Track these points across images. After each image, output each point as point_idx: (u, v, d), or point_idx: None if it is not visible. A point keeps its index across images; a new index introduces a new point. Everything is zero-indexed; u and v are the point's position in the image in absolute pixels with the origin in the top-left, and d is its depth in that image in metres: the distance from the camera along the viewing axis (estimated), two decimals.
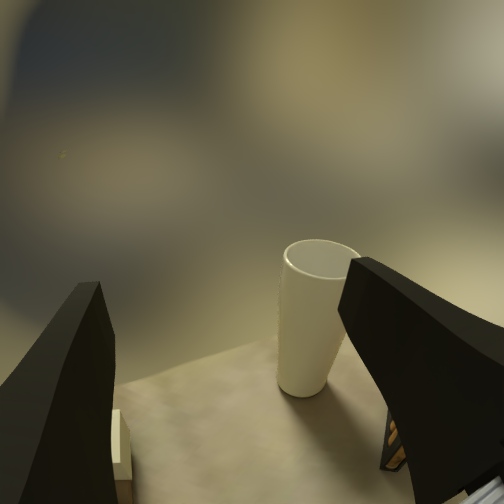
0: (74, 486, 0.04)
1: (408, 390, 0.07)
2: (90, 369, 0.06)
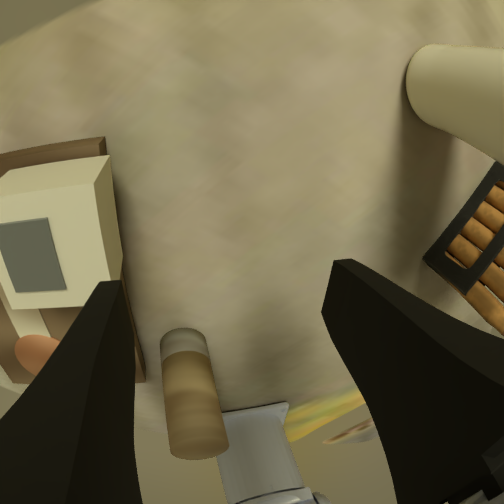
0: (107, 488, 0.04)
1: (390, 397, 0.07)
2: (115, 368, 0.06)
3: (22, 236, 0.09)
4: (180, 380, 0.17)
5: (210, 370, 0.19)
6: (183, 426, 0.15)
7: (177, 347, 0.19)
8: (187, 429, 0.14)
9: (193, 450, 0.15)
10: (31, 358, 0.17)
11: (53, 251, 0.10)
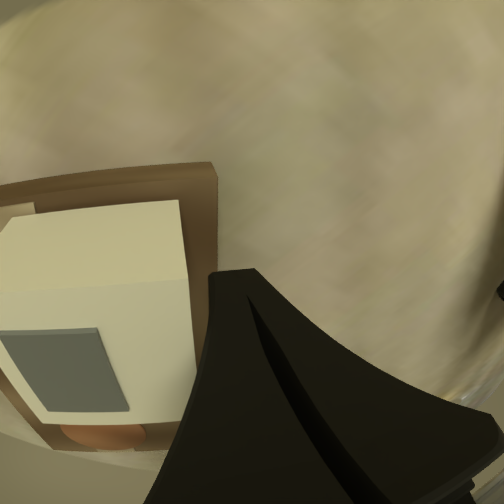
0: None
1: None
2: None
3: (53, 353, 0.06)
4: None
5: None
6: None
7: None
8: None
9: None
10: (82, 431, 0.13)
11: (107, 369, 0.06)
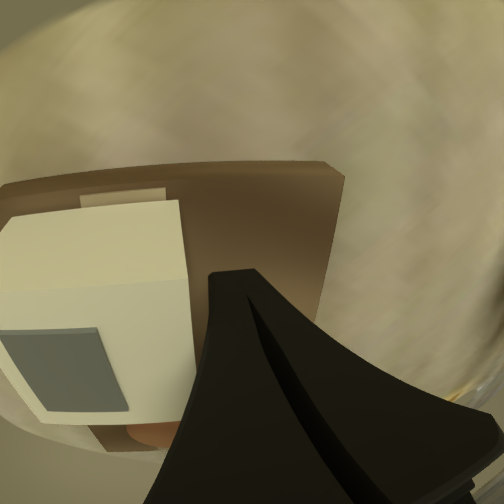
0: None
1: None
2: None
3: (52, 352, 0.06)
4: None
5: None
6: None
7: None
8: None
9: None
10: (150, 430, 0.14)
11: (107, 369, 0.06)
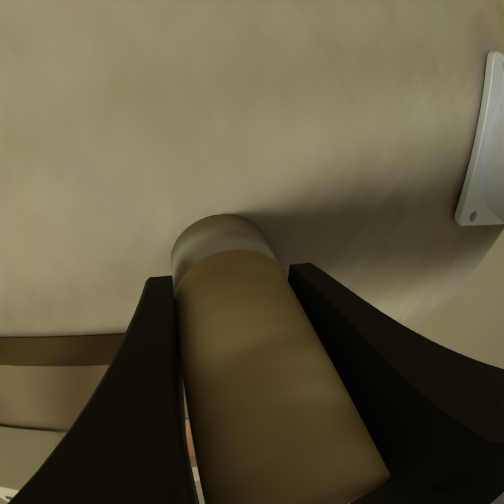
0: (189, 485, 0.04)
1: None
2: (176, 363, 0.06)
3: None
4: None
5: (213, 281, 0.07)
6: None
7: None
8: None
9: None
10: None
11: None
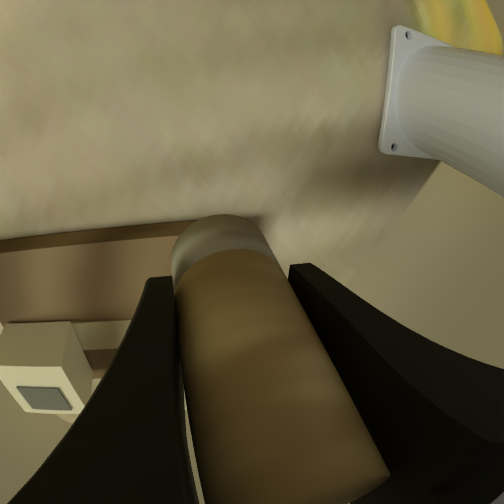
0: (189, 485, 0.04)
1: None
2: (176, 364, 0.06)
3: (31, 399, 0.15)
4: None
5: (213, 281, 0.07)
6: None
7: None
8: None
9: None
10: None
11: (35, 387, 0.14)
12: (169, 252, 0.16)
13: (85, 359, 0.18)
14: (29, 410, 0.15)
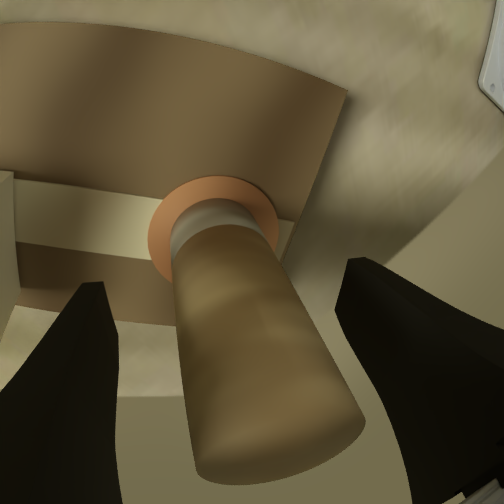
0: (80, 486, 0.04)
1: (405, 391, 0.07)
2: (94, 369, 0.06)
3: None
4: None
5: (206, 249, 0.08)
6: None
7: None
8: None
9: (285, 461, 0.05)
10: None
11: None
12: (232, 78, 0.09)
13: (14, 259, 0.10)
14: None
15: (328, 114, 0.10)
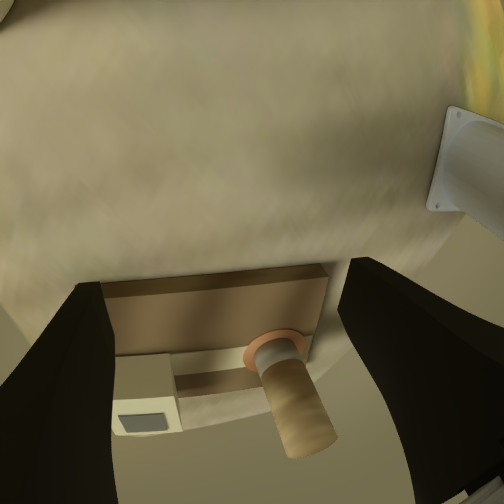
0: (74, 486, 0.04)
1: (408, 390, 0.07)
2: (90, 369, 0.06)
3: (130, 424, 0.18)
4: None
5: (276, 377, 0.20)
6: None
7: None
8: None
9: (314, 448, 0.17)
10: None
11: (138, 415, 0.18)
12: (269, 295, 0.20)
13: None
14: (121, 433, 0.19)
15: (320, 290, 0.21)
